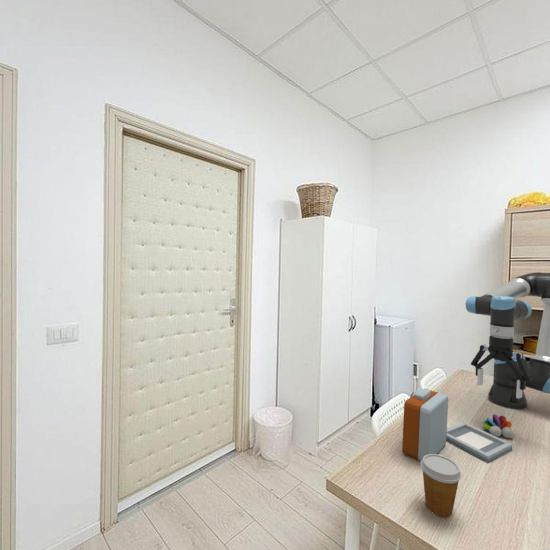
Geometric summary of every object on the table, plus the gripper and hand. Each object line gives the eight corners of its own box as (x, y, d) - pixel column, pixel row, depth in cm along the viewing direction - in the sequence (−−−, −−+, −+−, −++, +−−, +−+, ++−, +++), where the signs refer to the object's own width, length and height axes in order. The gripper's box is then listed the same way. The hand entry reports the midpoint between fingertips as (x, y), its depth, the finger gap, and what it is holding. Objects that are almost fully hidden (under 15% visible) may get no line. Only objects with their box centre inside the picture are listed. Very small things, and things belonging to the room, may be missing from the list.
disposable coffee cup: (442, 493, 88) (444, 451, 87) (468, 520, 78) (470, 474, 78) (411, 496, 86) (413, 454, 86) (434, 524, 77) (436, 477, 76)
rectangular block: (421, 434, 119) (424, 381, 118) (446, 444, 112) (449, 388, 112) (401, 454, 106) (403, 394, 105) (428, 466, 99) (431, 403, 99)
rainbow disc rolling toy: (517, 441, 116) (518, 422, 116) (488, 437, 118) (489, 418, 118) (505, 429, 124) (506, 411, 124) (478, 426, 126) (479, 408, 126)
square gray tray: (463, 427, 125) (463, 422, 125) (512, 450, 110) (512, 444, 110) (438, 437, 117) (439, 431, 117) (487, 463, 102) (488, 456, 102)
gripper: (462, 330, 128) (460, 381, 129) (536, 345, 106) (533, 405, 107) (473, 329, 132) (470, 378, 133) (546, 343, 110) (542, 401, 111)
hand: (498, 390), depth 120 cm, fingers open, 13 cm apart
